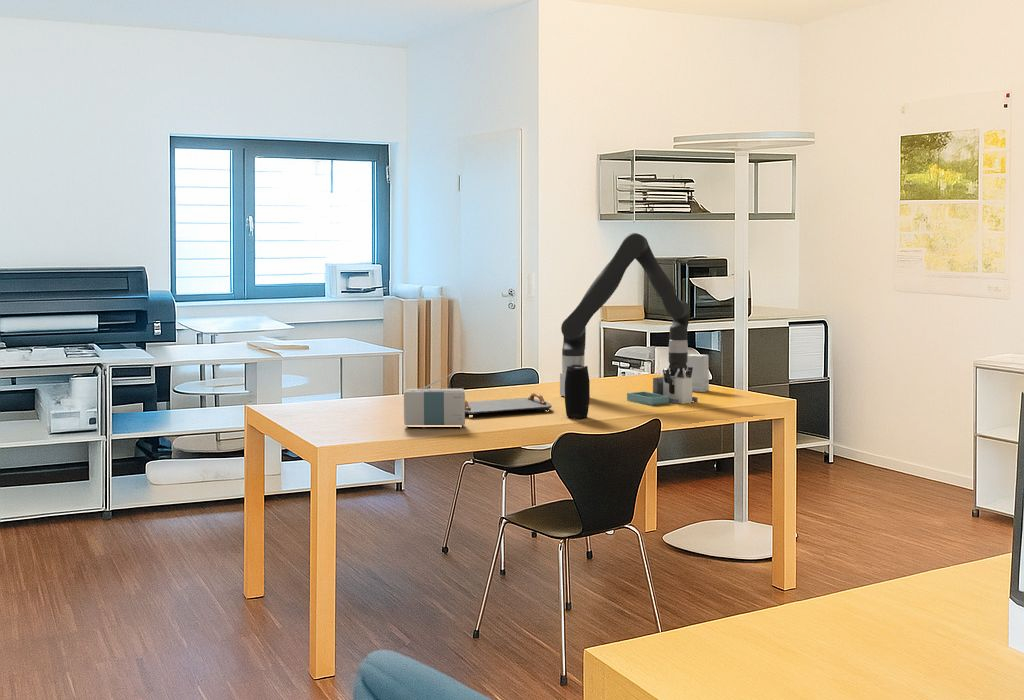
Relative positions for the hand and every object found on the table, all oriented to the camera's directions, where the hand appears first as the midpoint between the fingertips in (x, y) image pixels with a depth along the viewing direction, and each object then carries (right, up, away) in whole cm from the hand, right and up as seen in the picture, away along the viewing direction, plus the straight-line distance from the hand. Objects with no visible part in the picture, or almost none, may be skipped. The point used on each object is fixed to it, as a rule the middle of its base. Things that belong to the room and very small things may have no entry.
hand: (677, 392), depth 414 cm
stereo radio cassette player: (-93, -10, -54) cm, 108 cm away
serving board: (-71, -7, -21) cm, 74 cm away
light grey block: (0, -4, 0) cm, 3 cm away
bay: (-1, -3, +1) cm, 4 cm away
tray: (-12, -4, -1) cm, 13 cm away
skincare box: (+13, -1, +29) cm, 32 cm away
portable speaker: (-43, -8, -35) cm, 56 cm away
